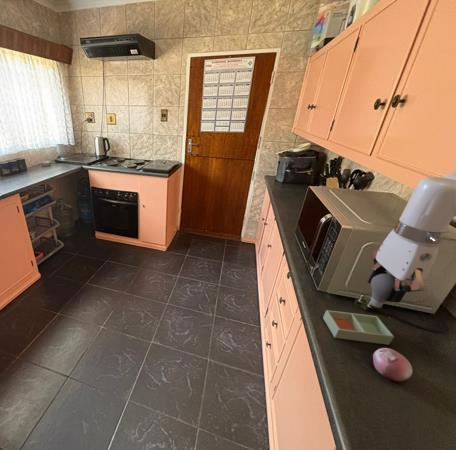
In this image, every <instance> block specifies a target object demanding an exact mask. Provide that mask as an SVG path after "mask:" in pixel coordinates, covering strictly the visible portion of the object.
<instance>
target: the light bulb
mask: <svg viewBox="0 0 456 450" xmlns="http://www.w3.org/2000/svg"><path fill="white" fill-rule="evenodd" d="M395 280H396V277H395V276H393V275H392V274H391V273H387V274H379V275H376V276H375V277H373V278H372V280H371V284H370V287H371V291H372V292H371V298H370V300H369V304H370V306H373V307H375V308H378V309H380V308H382V307H383V305H384V304H385V303H386V302H387V301H386V300H385V297H386V295H387V294H388V292H389V290H390V289H391V288H394V286H395ZM401 286H403V284H402V285H401Z"/></svg>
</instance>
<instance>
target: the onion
mask: <svg viewBox="0 0 456 450" xmlns="http://www.w3.org/2000/svg"><path fill="white" fill-rule="evenodd" d="M372 361H373V368H374V369H375V371H377V372H378V373H379V374H380V375H381V376H382V377H384V378H385V379H388V380H391V381H395V382H404V381H407V380H409V379H410V378H411V377H412V375H413V367H412V364H411V362H410V361H409V360H408V359H407V358H406V357H405V356H404V355H403V354H402V353H399V352H398V351H396V350H395V349H392V348H388V347H382V348H381V347H380V348H378V349H377V350H375V351H374V352H373V353H372Z"/></svg>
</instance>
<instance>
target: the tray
mask: <svg viewBox="0 0 456 450" xmlns="http://www.w3.org/2000/svg"><path fill="white" fill-rule="evenodd" d="M322 319H323V321H324V322H325V324H326V326H327V328H328V329H329V331H330V332H331V334H332V336H333V338H334V339H342V340H348V341H357V342H365V343H371V344H380V345H388V346H389V345H390V344H391V342H392V341H393V340H394V338H395V336H394V334H393V333H392V332H391V331H390V329H388V327H387V325H385V324H384V323H383V322H382V320H381V319H380V317H378V315H371V314H363V313H353V312H346V311H338V310H331V309H330V310H328V309H326V310H325V312H324V313H323V317H322Z"/></svg>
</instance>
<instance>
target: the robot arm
mask: <svg viewBox="0 0 456 450" xmlns="http://www.w3.org/2000/svg"><path fill="white" fill-rule="evenodd" d="M455 217H456V170H455V171H453V172H449V173H447V174H445V175H443V176H440V177H439V176H428V177H424V178H422V179H421V180H419V181H418V183H417V185H416V186H415V188H414V190H413V192H412V194H411V196H410V197H409V200H408V202H407V204H406V206H405V207H404V210H403V211H402V213H401V215H400V217H399V219H398V221H397V223H396V224H395V227H394V228H393V229H392V230H391V231H390V232H389V234H388V235H387V236H386V238H385V239H384V240H383V241H382V243H381V245H380V247H379V248H378V249H377V250H373V251H372V256H373V261H372V262H373V266H372V271H371V274H370V276H369V278H368V280H367V283H368V284H370V285H371V280H372V278H373V277H375V276H376V275H379V274H388V273H389V274H390V275H393V276H395V277H396V280H395V286H394V288H391V289H390V290H389V292H388V294H387V295H386V297H385V300H386V302H388V303H389V302H390V303H396V304H397V303H401V302H402V300H403V298H404V297H405V295H406V293H407V292H408V293H411V292H423V291H425V283H424V282H425V280H426V278H427V277H428V275H429V274H430V271H431V270H432V268H433V266H434V263H435V261H436V259H437V256H438V253H439V248H440V246H439V244H441V243H442V241H443V240H442V239H441V238H442V236H443V235H444V233H445V232H446V230H447V229H448V226H449V225H450V223H451V222H452V221H453V218H455ZM403 282H404V285H403V284H402V283H403ZM401 285H402V286H401Z"/></svg>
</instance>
